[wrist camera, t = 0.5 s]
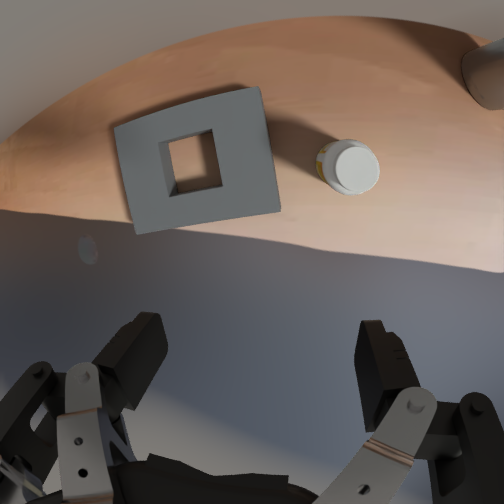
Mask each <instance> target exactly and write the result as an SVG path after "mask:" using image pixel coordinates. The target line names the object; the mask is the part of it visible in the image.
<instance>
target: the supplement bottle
mask: <svg viewBox="0 0 504 504" xmlns="http://www.w3.org/2000/svg"><path fill="white" fill-rule="evenodd" d="M316 169H317V172H318V174H319V176H320V178H321V179H322V180H323V181H324V182H325V183H326V184H328V185H329V186H330V187H331V188H333V189H334V190H335V191H337V192H339V193H342V194H345V195H358V194H361V193H363V192H365V191H367V190H369V189H371V188H372V187H373V186H374V185H375V184H376V182H377V180H378V177H379V173H380V168H379V163H378V160H377V158H376V157H375V155H374V154H373V152H372V151H371V149H370V148H369V147H368V146H366V145H365V144H363V143H362V142H360V141H357V140H351V139H345V140H340V141H335V142H331V143H328V144H326V145H325V146H324V147H322V148H321V150H320V151H319V153H318V155H317V158H316Z"/></svg>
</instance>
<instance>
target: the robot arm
mask: <svg viewBox="0 0 504 504" xmlns="http://www.w3.org/2000/svg"><path fill="white" fill-rule="evenodd" d="M462 74H463V78H464V81H465V83H466V86H467V88H468V90H469V91H470V93H471V95H472V96H473V97H474V99H475V100H476V101H477V102H478V103H479V104H480V105H482V106H483V107H484V108H486V109H489V110H503V109H504V38H502V39H499V40H497V41H494V42H492V43H489V44H487V45H484V46H481V47H479V48H477V49H474V50H472V51H470V52H467V53H466V54H465V55H464V57H463V59H462ZM167 352H168V342H167V338H166V334H165V331H164V327H163V323H162V319H161V316H160V315H159V314H158V313H151V312H140V313H139V314H138V315H137V317H136V318H135V319H134V320H133V321H132V322H129V323H128V324H126V325H124V326H123V327H121V328H120V330H119V331H118V332H117V333H116V334H115V337H113V338H112V339H111V340H110V342H109V343H107V345H106V346H105V347H104V348H103V350H102V351H101V352H100V353H99V354H98V355H97V357H96V358H95V359H94V360H93V361H92V363H80V364H78V365H76V366H73V367H72V368H71V369H70V370H69V371H68V372H67V373H56V372H54V370H53V368H52V366H51V365H50V364H49V363H48V362H44V361H41V362H37V363H35V364H33V365H31V366H30V367H29V368H28V369H27V370H26V371H25V373H24V374H23V375H22V376H21V377H20V378H19V380H18V381H17V382H16V383H15V384H14V386H13V387H12V388H11V389H10V390H9V391H8V393H7V394H6V395H5V396H4V398H3V399H2V400H1V401H0V504H389V502H390V501H391V499H392V498H393V496H394V495H395V493H396V492H397V490H398V489H399V487H400V486H401V484H402V482H403V481H404V479H405V477H406V476H407V474H408V472H409V471H410V469H411V467H412V465H413V462H414V461H413V459H426V460H427V461H428V468H429V474H430V482H431V489H432V499H433V504H504V431H503V428H502V426H501V423H500V421H499V418H498V415H497V413H496V411H495V408H494V406H493V404H492V402H491V400H490V399H489V398H488V397H487V396H486V395H484V394H481V393H477V392H472V393H468V394H466V395H465V396H464V397H463V398H462V399H461V401H460V403H450V402H440V401H436V398H435V397H434V395H433V394H432V393H431V392H429V391H428V390H427V389H424V388H421V386H420V383H419V381H418V378H417V376H416V373H415V371H414V368H413V366H412V364H411V361H410V359H409V356H408V354H407V352H406V349H405V347H404V344H403V342H402V340H401V339H400V338H399V337H398V336H397V335H396V334H395V333H393V332H386V331H385V328H384V326H383V324H382V321H381V320H363V321H361V323H360V328H359V333H358V338H357V344H356V348H355V354H354V365H355V371H356V376H357V382H358V387H359V393H360V398H361V404H362V411H363V417H364V424H365V430H366V432H374V433H373V435H372V436H371V438H370V439H369V440H368V441H366V442H365V443H364V444H363V446H362V447H361V448H360V449H359V451H358V452H357V453H356V455H355V456H354V457H353V458H352V460H351V461H350V462H349V463H348V465H347V466H346V467H345V468H344V469H343V471H342V472H341V473H340V474H339V475H338V476H337V478H336V479H335V480H334V481H333V482H332V483H331V484H330V486H329V487H328V488H327V489H326V490H325V491H324V492H323V493H322V494H321V495H320V496H318V495H316V494H315V493H313V492H311V491H309V490H307V489H305V488H303V487H299V486H297V485H293V484H290V483H288V477H289V476H288V475H268V474H255V473H249V474H239V475H223V476H213V475H209V474H207V473H204V472H202V471H200V470H197V469H195V468H193V467H191V466H189V465H187V464H185V463H182V462H181V461H177V460H172V459H169V458H165V457H161V456H158V455H154V454H151V453H150V454H149V456H148V458H147V460H146V461H137V459H136V457H135V455H134V453H133V451H132V448H131V444H130V440H129V437H128V433H127V429H126V425H125V421H124V417H123V415H122V413H121V412H122V410H123V408H127V409H130V410H135V409H136V407H137V406H138V404H139V402H140V400H141V399H142V397H143V395H144V393H145V392H146V390H147V388H148V386H149V385H150V383H151V381H152V380H153V377H154V376H155V374H156V373H157V371H158V369H159V367H160V366H161V364H162V362H163V361H164V359H165V357H166V355H167ZM41 404H42V405H43V406H44V407H45V409H46V410H47V411H48V412H47V414H46V415H45V416H44V418H43V419H42V421H41V422H40V424H39V425H38V427H37V428H36V430H35V431H34V432H33V430H32V429H31V427H30V420H31V418H32V416H33V414H34V413H35V412H36V410H37V409H38V408H39V406H40V405H41ZM57 458H59V469H60V476H61V477H60V478H61V485H62V490H59V491H57V492H54V493H51V494H48V495H46V493H45V492H44V491H43V487H42V485H43V484H44V482H45V480H46V478H47V476H48V474H49V472H50V470H51V468H52V467H53V465H54V463H55V461H56V459H57Z"/></svg>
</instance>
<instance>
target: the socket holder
mask: <svg viewBox="0 0 504 504" xmlns="http://www.w3.org/2000/svg"><path fill="white" fill-rule="evenodd" d="M209 132H213V136H214V142H215V147H216V153H217V158H218V163H219V168H220V174H221V179H222V184H223V185H218V186H212V187H207V188H202V189H197V190H192V191H187V192H182V193H178V191H177V186H176V181H175V176H174V171H173V166H172V161H171V156H170V151H169V146H168V143H170V142H173V141H177V140H181V139H184V138H188V137H192V136H196V135H200V134H204V133H209ZM114 134H115V140H116V146H117V151H118V157H119V162H120V167H121V172H122V177H123V182H124V186H125V191H126V195H127V200H128V204H129V208H130V212H131V216H132V220H133V224H134V228H135V231H136V235H138V234H144V233H149V232H155V231H160V230H166V229H172V228H178V227H184V226H190V225H196V224H202V223H208V222H214V221H221V220H227V219H234V218H240V217H247V216H254V215H261V214H268V213H276V212H280V211H281V204H280V197H279V191H278V185H277V179H276V173H275V167H274V161H273V155H272V149H271V143H270V138H269V132H268V127H267V121H266V116H265V111H264V105H263V100H262V95H261V91H260V89H259V87H258V86H257V87H251V88H246V89H241V90H236V91H231V92H227V93H222V94H218V95H214V96H210V97H206V98H202V99H198V100H194V101H191V102H187V103H183V104H180V105H177V106H173V107H170V108H167V109H164V110H161V111H158V112H155V113H152V114H149V115H146V116H143V117H141V118H138V119H135V120H132V121H130V122H127V123H125V124H122V125H120V126H117V127H115V128H114Z"/></svg>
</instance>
